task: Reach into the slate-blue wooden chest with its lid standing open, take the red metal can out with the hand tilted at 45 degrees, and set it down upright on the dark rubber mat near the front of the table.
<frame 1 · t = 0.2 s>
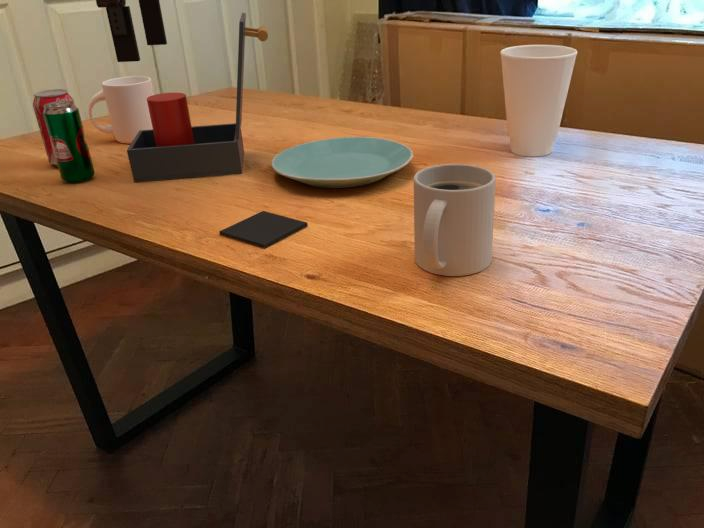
hand: (144, 52, 91), 20 cm above the table, tool pointing down, fingers open, 13 cm apart
plate: (343, 173, 104), on the table
cup: (531, 151, 111), on the table
soda can: (79, 180, 106), on the table
chest lid: (252, 76, 104), point 14 cm above the table, hinge at 100.0°
mug 2: (447, 263, 76), on the table
tin can: (179, 164, 109), point 1 cm above the table, touching chest
rubber mat: (264, 230, 85), on the table
mug: (130, 140, 126), on the table
beverage can: (70, 164, 114), on the table
chest: (192, 166, 110), on the table
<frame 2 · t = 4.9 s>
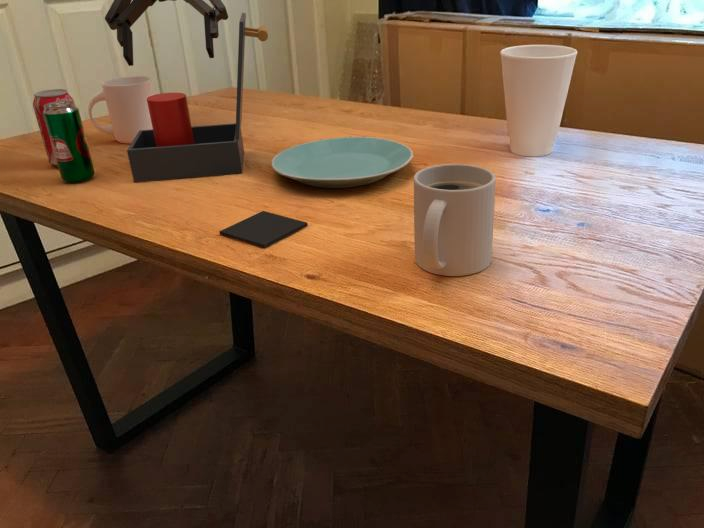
hand: (169, 57, 111), 16 cm above the table, tool tilted 45°, fingers open, 13 cm apart
nothing on the table moved.
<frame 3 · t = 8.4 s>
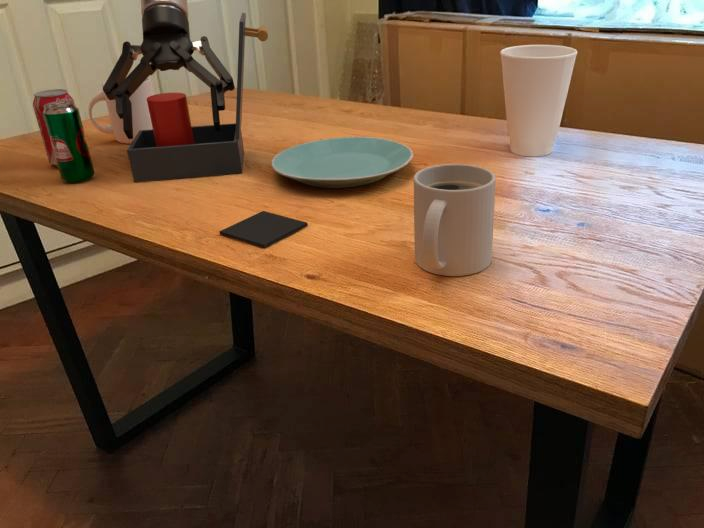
hand: (173, 131, 105), 6 cm above the table, tool tilted 45°, fingers open, 13 cm apart
nothing on the table moved.
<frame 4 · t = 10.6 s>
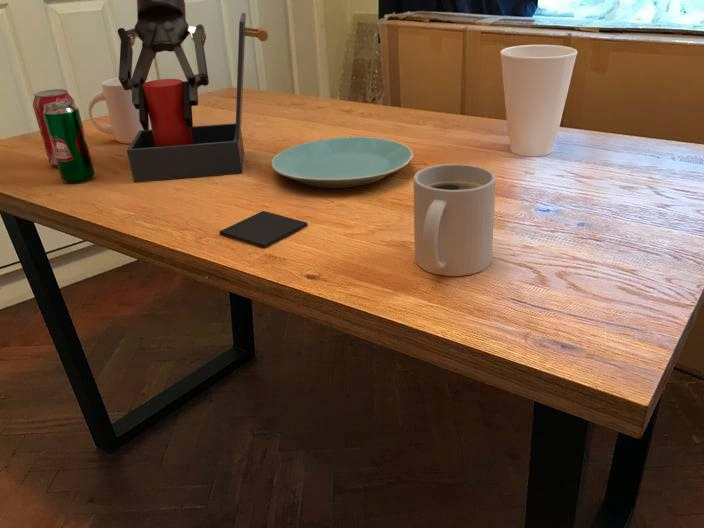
hand: (166, 123, 102), 8 cm above the table, tool tilted 45°, fingers closed on tin can, 6 cm apart
tin can: (175, 151, 108), point 3 cm above the table, touching gripper
everything else where it was.
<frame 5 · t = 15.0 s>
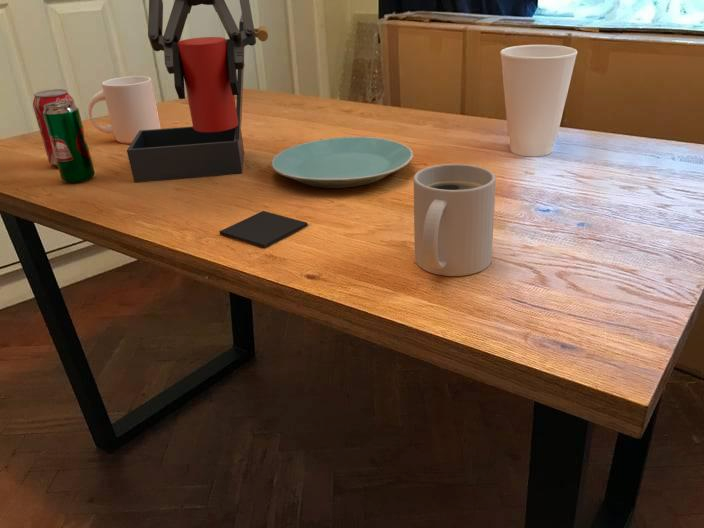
hand: (207, 90, 84), 16 cm above the table, tool tilted 45°, fingers closed on tin can, 6 cm apart
tin can: (216, 126, 89), point 11 cm above the table, touching gripper
everything else where it was.
when the fingers open (6 cm above the table, at t = 19.8 s): tin can stays where it is, resting on rubber mat.
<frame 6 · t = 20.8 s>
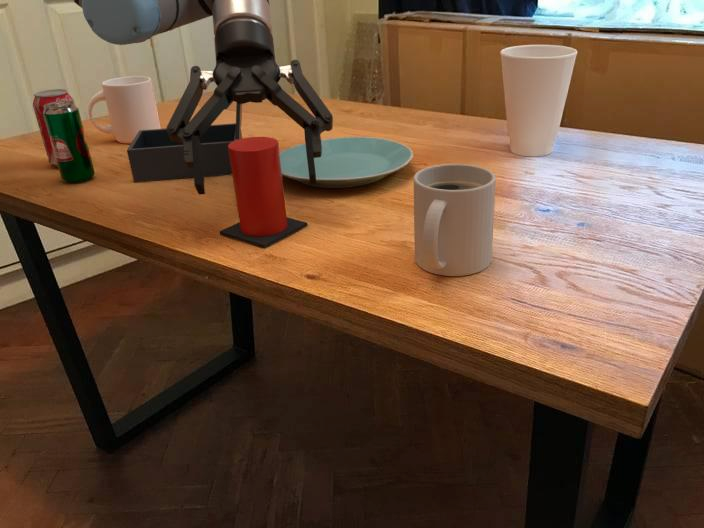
hand: (256, 185, 80), 7 cm above the table, tool tilted 45°, fingers open, 13 cm apart
tin can: (264, 227, 85), resting on rubber mat
everything else where it was.
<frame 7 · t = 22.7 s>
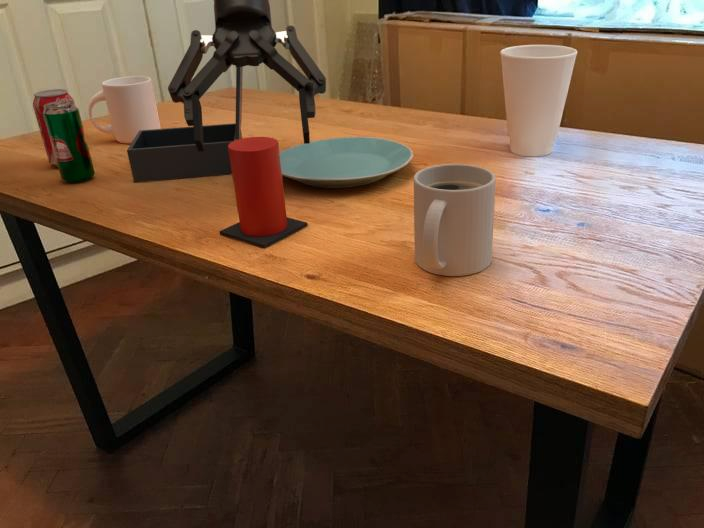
hand: (253, 142, 84), 10 cm above the table, tool tilted 45°, fingers open, 13 cm apart
chest lid: (251, 76, 104), point 14 cm above the table, hinge at 98.9°
everything else where it was.
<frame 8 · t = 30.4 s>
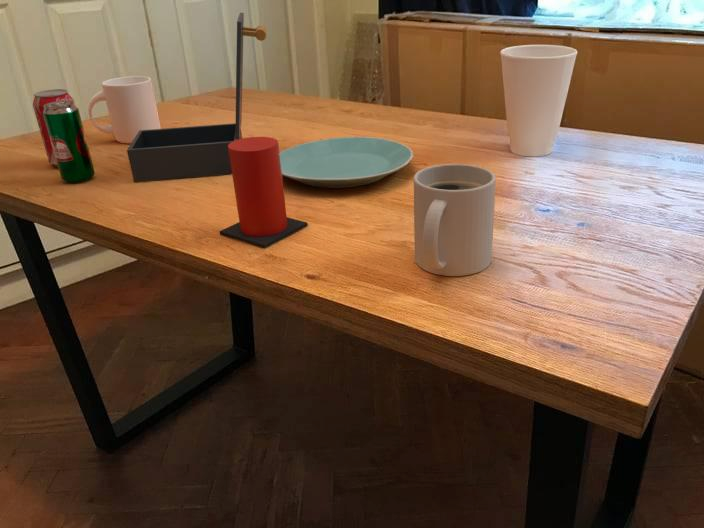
nothing on the table moved.
at the end: tin can inside the target area on the rubber mat (0.2 cm from its centre), point 0.5 cm above the rubber mat's base; tin can tilted 0° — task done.
